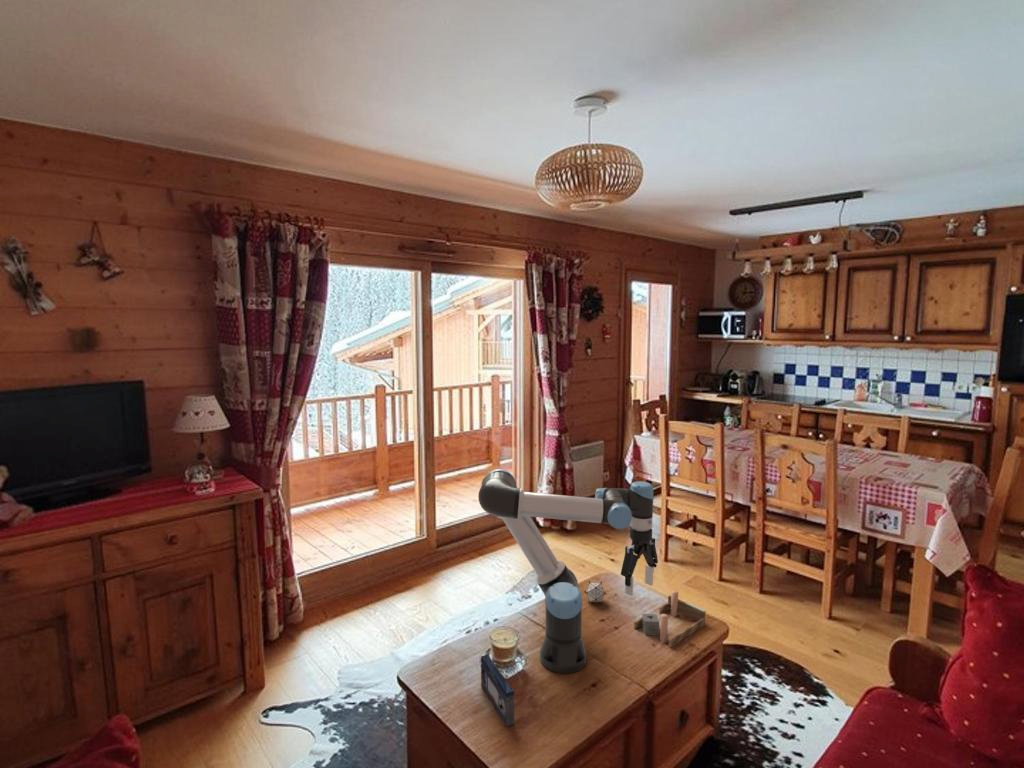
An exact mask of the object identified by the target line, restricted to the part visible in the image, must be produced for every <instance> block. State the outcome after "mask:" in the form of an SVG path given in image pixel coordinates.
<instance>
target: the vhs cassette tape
mask: <svg viewBox="0 0 1024 768" xmlns="http://www.w3.org/2000/svg"><path fill="white" fill-rule="evenodd" d="M480 663H481V664H480V678H481V679H480V680H481V688H482V690H483V691H484V694H485V695H486V696H487V698H488V700H489V701H490V703H491V705H492V706H493V708H494V710H495V711H496V713H497V714H498V716H499V718H500V719H501V720H502V722H503V724H504V726H505V727H506V728H507V727H510V726H512V725H515V691H514V689H513V688H512V687H511V685H510V683H509V682H508V681H507V680H506V677H505V676H504V675H503V674H502V672H500V669H499V668H498V667H497V665H496V664H495V663H494V661H493V660H492V659H491V658H490V655H489V654H485V655H480Z"/></svg>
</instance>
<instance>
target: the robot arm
mask: <svg viewBox="0 0 1024 768" xmlns="http://www.w3.org/2000/svg"><path fill="white" fill-rule="evenodd" d="M477 497H478V502H479V506H481V509H482V510H483V511H484V512H485V513H487V514H488V515H491V516H493V517H495V518H498V519H501V520H502V521H503V523H504V524H505V526H506V527H507V529H508V530H509V532H510V534H511V535H512V537H513V539H514V540H515V541H516V543H517V545H518V546H519V548H520V549H521V551H522V553H523V554H524V556H525V558H526V559H527V560H528V562H529V564H530V566H531V567H532V569H533V570H534V571H535V574H536V575H537V576H536V584H537V585H538V586H539V588H540V590H541V591H542V593H543V594H544V597H545V598H544V601H545V602H544V603H545V635H544V638H543V641H542V643H541V647H540V651H539V659H540V663H541V664H542V665H543V667H544V668H546V669H547V670H549V671H551V672H554V673H557V674H572V673H576V672H579V671H581V670H583V669H584V667H586V664H587V651H586V650H587V649H586V648H585V645H584V641H583V638H582V620H583V619H582V617H583V616H582V613H583V612H582V610H583V597H582V592H581V590H580V589H579V582H578V579H577V577H576V575H575V573H574V572H573V571H572V570H571V569H570V568H568V567H567V565H566V564H565V563H564V562H563V561H561V560H558V559H557V557H556V555H555V554H554V553H553V551H552V549H551V547H550V546H549V545H548V543H547V541H546V540H545V538H544V536H543V535H542V534H541V532H540V530H539V528H538V527H537V525H536V523H535V522H534V520H533V518H539V519H540V518H543V519H554V520H562V521H563V520H564V521H576V522H577V521H578V522H586V523H596V524H607V525H610V526H611V527H612V528H614V529H617V530H623V529H626V528H628V527H629V526H630V527H629V537H630V540H631V545H630V546H628V545H626V546H625V548H624V551H625V552H624V553H625V554H624V557H623V561H622V565H621V569H620V575H621V576H623V577H624V586H625V590H624V591H625V592H624V594H626V595H629V596H630V597H632V596H634V580H635V579H634V576H633V574H634V571H635V569H636V567H637V566H636V565H638V564H637V563H638V560H639V559H641V557H642V555H643V557H644V560H645V562H646V565H645V572H644V573H645V574H644V576H645V577H644V584H646V585H649V586H651V587H652V586H654V569H655V568H657V567H658V565H657V564H658V563H659V559H658V553H657V549H656V547H657V546H656V538H654V537H653V520H654V519H653V515H654V514H653V513H654V499H655V497H654V486H653V485H652V484H651V483H650V482H647V481H642V480H641V481H640V480H639V481H638V480H637V481H633V482H632V483H631V484H630V486H629V488H620V487H619V488H617V487H616V488H615V487H613V488H612V487H611V488H610V487H601V488H600V487H599V488H597V489H596V490H595V495H594V497H585V496H584V497H583V496H575V495H574V496H573V495H562V494H552V493H542V492H532V491H524V490H523V489H522V488H521V487H517V482H516V478H515V477H514V476H513V474H512V473H511V472H510V471H508V470H505V469H503V468H501V469H500V468H499V469H497V468H496V469H493V470H491V471H489V472H488V473H487V474H486V475H485V476H484V478H483V479H482V481H481V486H480V488H479V491H478V495H477Z"/></svg>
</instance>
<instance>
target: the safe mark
mask: <svg viewBox="0 0 1024 768" xmlns="http://www.w3.org/2000/svg"><path fill="white" fill-rule="evenodd" d="M686 605H689V606H691V607H693V608H695V609H698V610H700V611H702V612H705V611H706V610H705V609H703V608H700V607H699V606H696V605H694V604H692V603H690V602H688V601H687V602H686Z"/></svg>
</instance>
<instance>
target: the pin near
mask: <svg viewBox="0 0 1024 768" xmlns="http://www.w3.org/2000/svg"><path fill="white" fill-rule="evenodd" d="M668 623H669V615H668V614H666V613H662V614H660V624H659V642H662V643H667V642H668V628H669V624H668Z"/></svg>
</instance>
